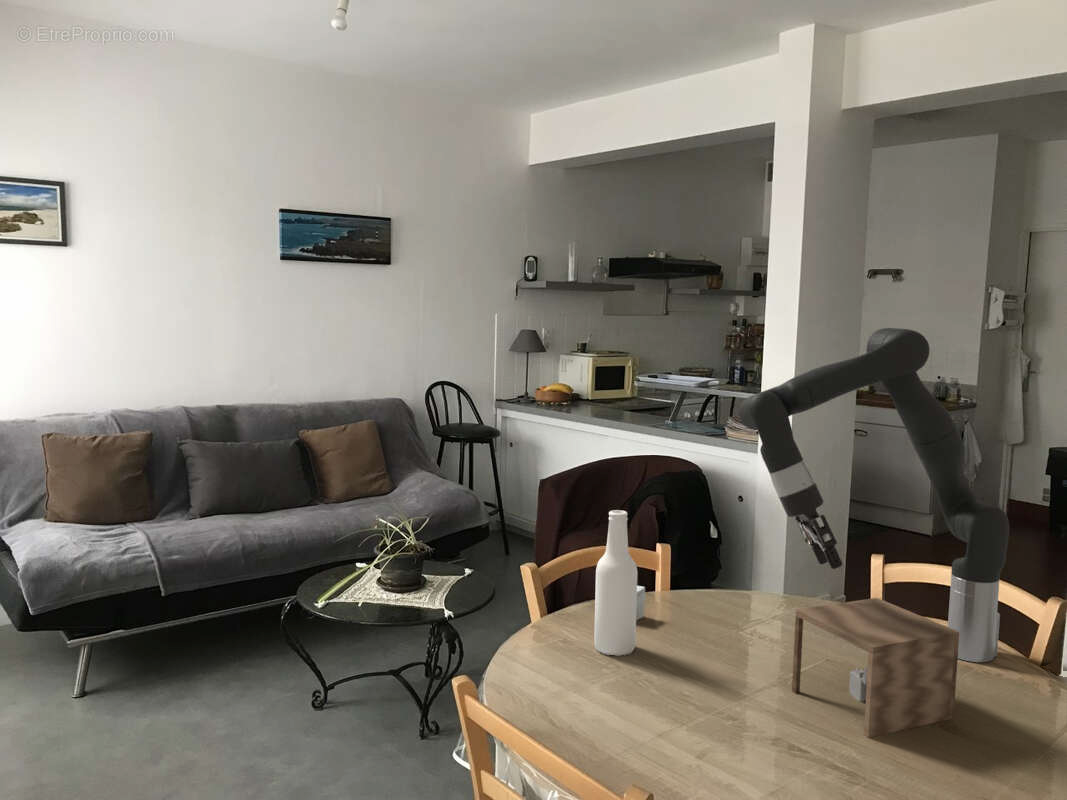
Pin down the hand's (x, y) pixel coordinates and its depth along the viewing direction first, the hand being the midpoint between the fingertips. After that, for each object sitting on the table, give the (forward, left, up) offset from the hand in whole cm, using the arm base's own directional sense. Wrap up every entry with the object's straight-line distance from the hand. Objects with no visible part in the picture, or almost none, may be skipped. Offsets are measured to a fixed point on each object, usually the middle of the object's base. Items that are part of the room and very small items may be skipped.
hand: (830, 565), depth 175 cm
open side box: (-1, +11, -24) cm, 26 cm away
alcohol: (+31, -30, -24) cm, 49 cm away
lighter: (-1, +9, -24) cm, 26 cm away
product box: (+19, -46, -24) cm, 55 cm away
